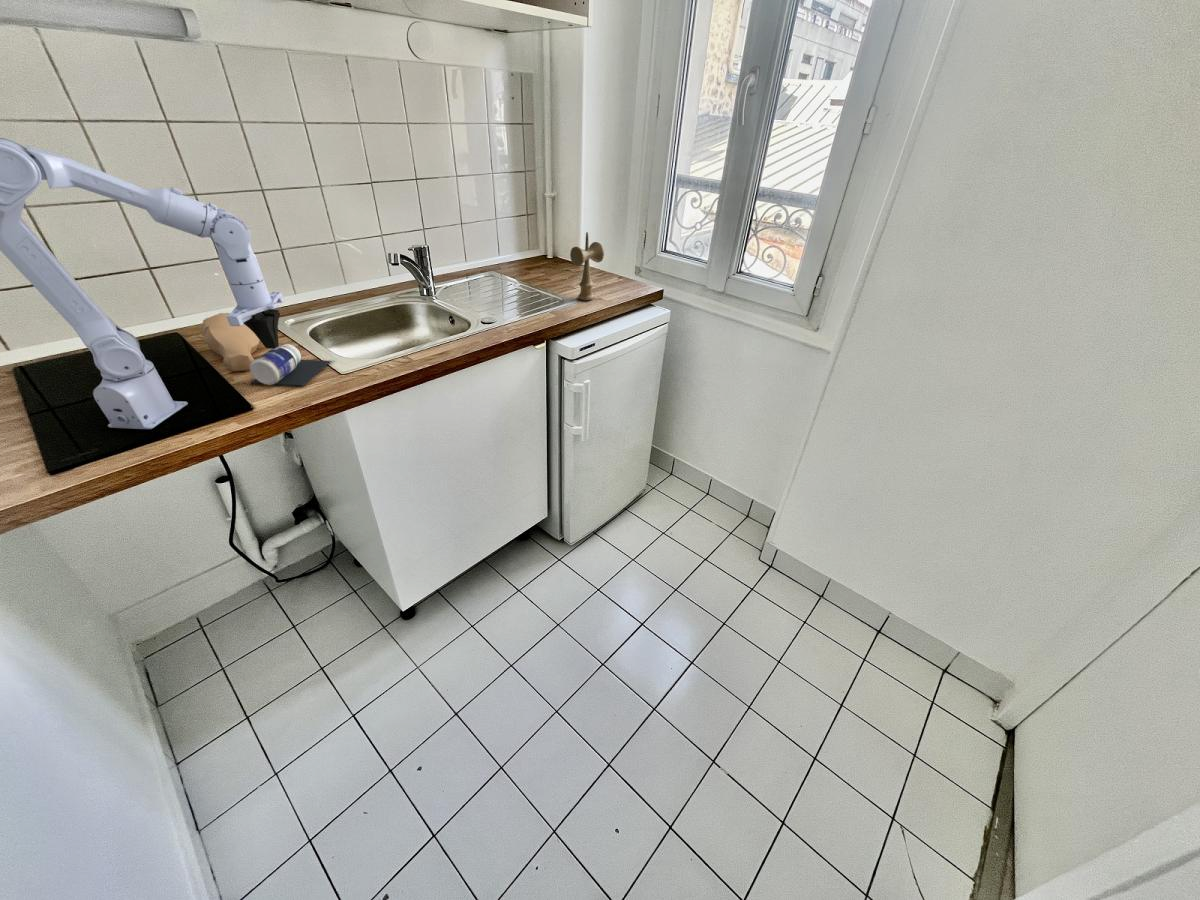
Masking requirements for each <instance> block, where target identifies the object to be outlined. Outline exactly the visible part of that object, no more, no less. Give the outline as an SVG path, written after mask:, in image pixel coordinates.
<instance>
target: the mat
mask: <svg viewBox="0 0 1200 900" xmlns="http://www.w3.org/2000/svg"><path fill="white" fill-rule="evenodd" d="M330 363H331V361H330V360H319V359H318V360H317V359H301V361H300V362H299V363H298V364H297V366H296V368H295V369H294V370H293V371H291V372H290V373H289V374H287V375H286V376H285V377H283V378H282V379H281V380H279V381H278V382H277V383H275V384H272V385H271V386H280V387H299V388H300V387H301V388H302V387H304V386H305V385H306V384H308V382H310V381H311V380H312V379H313V378H314V377H315V376H317V374H318V373H320V372H321V371H322V370H323V369H324V368H326V367H327V366H328V365H329V364H330ZM250 385H254V386H255V385H256V386H268V385H267V384H263V383H261V382H259V381H258V380H256V379H255V378H254V379H253V380H252V381H251V382H250Z"/></svg>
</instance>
